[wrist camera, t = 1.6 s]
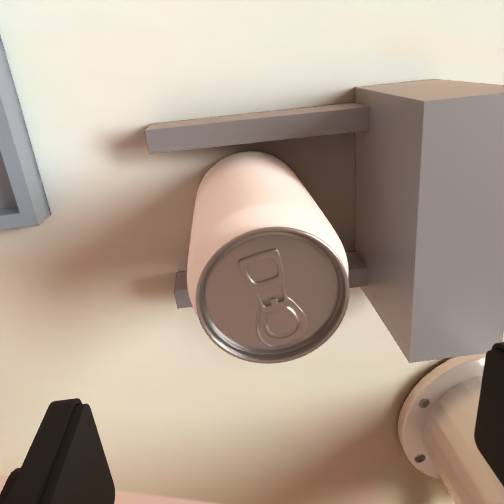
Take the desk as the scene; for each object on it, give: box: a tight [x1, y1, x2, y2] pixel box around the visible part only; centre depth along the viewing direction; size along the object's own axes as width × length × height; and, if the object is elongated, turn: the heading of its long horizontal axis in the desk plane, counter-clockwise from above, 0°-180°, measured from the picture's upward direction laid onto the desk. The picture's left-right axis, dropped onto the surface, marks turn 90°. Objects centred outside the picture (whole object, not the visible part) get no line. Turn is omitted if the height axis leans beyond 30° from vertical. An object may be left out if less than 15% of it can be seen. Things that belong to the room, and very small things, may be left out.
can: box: [187, 151, 349, 363], centre depth 22 cm, size 6×6×12 cm
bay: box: [145, 79, 504, 363], centre depth 23 cm, size 12×16×9 cm
